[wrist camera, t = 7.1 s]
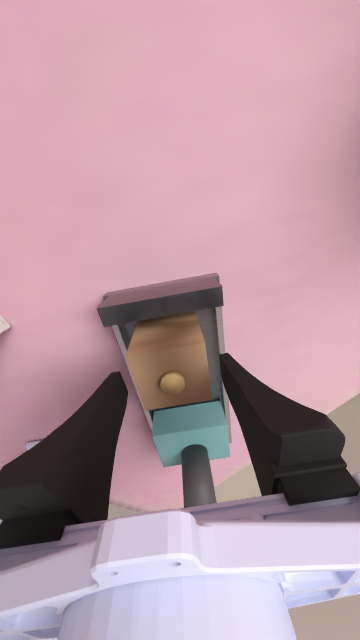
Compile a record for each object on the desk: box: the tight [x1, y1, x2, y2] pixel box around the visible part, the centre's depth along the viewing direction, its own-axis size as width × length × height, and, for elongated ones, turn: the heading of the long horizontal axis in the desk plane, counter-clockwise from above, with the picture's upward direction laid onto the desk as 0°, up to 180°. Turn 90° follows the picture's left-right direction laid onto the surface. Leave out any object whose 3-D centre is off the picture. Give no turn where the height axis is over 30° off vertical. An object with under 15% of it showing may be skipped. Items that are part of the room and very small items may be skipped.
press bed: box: [97, 273, 232, 443], centre depth 20 cm, size 10×22×4 cm, turn 10°
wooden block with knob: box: [125, 311, 212, 411], centre depth 15 cm, size 5×5×6 cm
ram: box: [152, 401, 230, 508], centre depth 20 cm, size 8×6×8 cm
